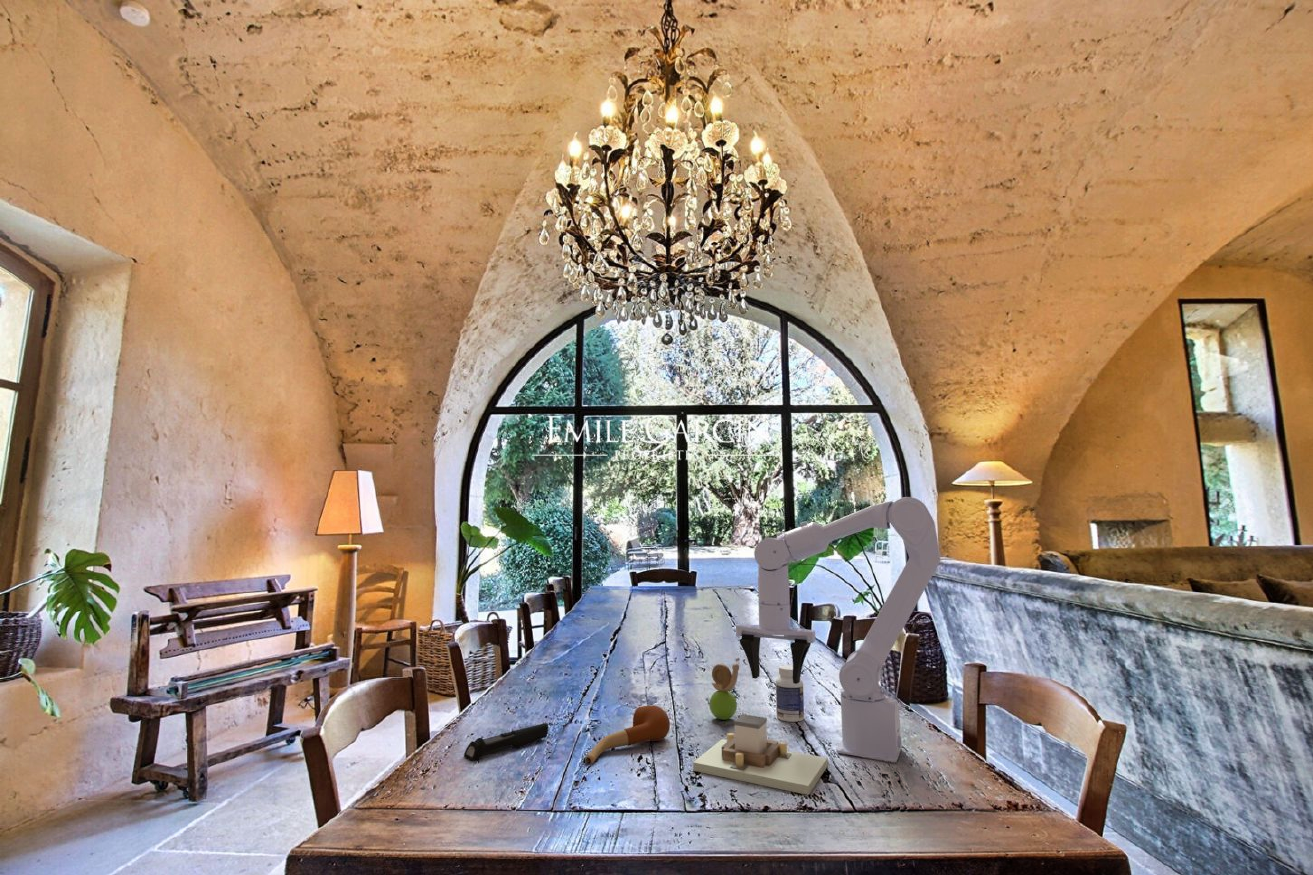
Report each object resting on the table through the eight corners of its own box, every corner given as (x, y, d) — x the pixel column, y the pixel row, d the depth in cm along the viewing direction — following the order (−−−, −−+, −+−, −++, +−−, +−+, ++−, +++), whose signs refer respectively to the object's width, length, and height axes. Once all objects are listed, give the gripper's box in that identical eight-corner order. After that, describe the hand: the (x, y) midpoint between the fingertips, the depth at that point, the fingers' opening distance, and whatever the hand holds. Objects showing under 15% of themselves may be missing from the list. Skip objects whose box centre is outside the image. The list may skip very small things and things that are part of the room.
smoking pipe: (677, 739, 108) (677, 705, 109) (611, 773, 94) (612, 733, 94) (645, 731, 112) (645, 699, 113) (577, 762, 98) (578, 725, 98)
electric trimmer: (552, 743, 107) (553, 724, 108) (472, 764, 97) (474, 743, 97) (541, 737, 110) (541, 719, 110) (462, 758, 99) (463, 738, 100)
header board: (827, 766, 96) (827, 745, 96) (808, 795, 86) (807, 772, 86) (722, 746, 104) (722, 727, 105) (693, 770, 94) (693, 750, 94)
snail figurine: (732, 726, 115) (731, 660, 117) (704, 719, 119) (703, 656, 121) (746, 719, 119) (745, 656, 121) (718, 713, 123) (718, 652, 125)
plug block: (767, 753, 98) (766, 717, 99) (759, 762, 94) (758, 725, 95) (743, 749, 100) (742, 714, 101) (734, 757, 96) (734, 721, 97)
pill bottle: (807, 723, 117) (805, 670, 119) (779, 722, 117) (777, 670, 119) (801, 714, 123) (799, 664, 124) (774, 714, 123) (773, 664, 124)
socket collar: (782, 752, 99) (782, 742, 99) (767, 769, 92) (766, 758, 92) (736, 743, 102) (736, 734, 102) (718, 759, 95) (718, 749, 96)
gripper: (729, 603, 112) (730, 679, 110) (807, 608, 106) (810, 690, 104) (742, 599, 119) (744, 671, 117) (817, 604, 112) (819, 681, 110)
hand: (775, 679), depth 110 cm, fingers open, 7 cm apart
